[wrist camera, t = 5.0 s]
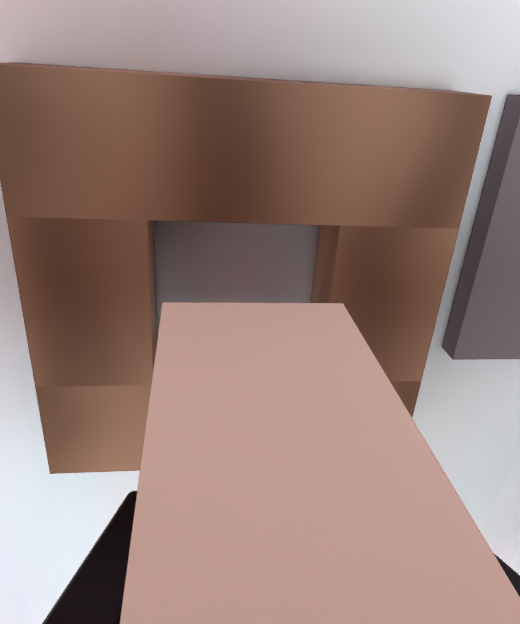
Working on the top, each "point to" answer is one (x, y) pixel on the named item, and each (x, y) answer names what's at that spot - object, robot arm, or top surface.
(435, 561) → the pink block
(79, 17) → the top surface
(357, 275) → the pocket block
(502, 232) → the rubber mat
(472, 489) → the top surface
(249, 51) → the top surface
